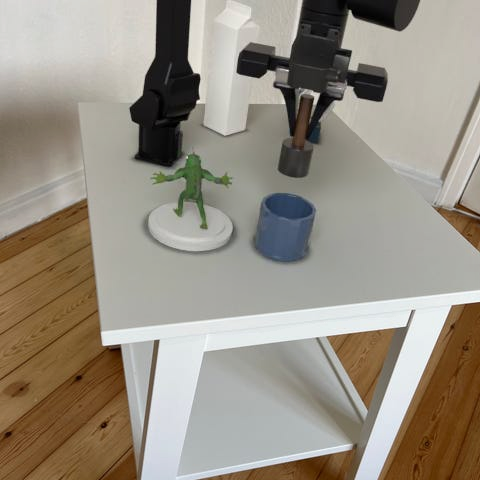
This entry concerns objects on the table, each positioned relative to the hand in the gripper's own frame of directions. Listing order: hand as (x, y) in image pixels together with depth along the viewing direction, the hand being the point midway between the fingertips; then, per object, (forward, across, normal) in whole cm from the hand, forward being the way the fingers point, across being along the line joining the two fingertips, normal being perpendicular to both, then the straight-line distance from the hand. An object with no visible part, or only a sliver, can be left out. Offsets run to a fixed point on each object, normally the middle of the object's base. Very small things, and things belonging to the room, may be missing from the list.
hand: (299, 137), depth 76 cm
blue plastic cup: (+13, +1, -7) cm, 15 cm away
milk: (+13, -17, +32) cm, 38 cm away
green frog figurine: (+13, -12, -8) cm, 20 cm away
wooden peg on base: (+5, 0, 0) cm, 5 cm away
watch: (+13, -1, +36) cm, 39 cm away
